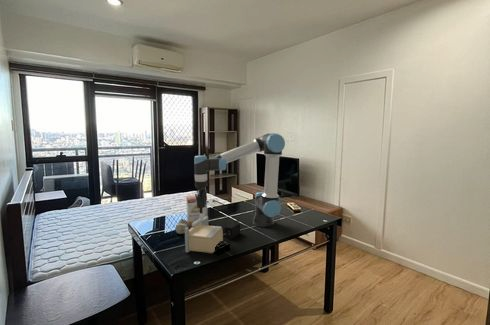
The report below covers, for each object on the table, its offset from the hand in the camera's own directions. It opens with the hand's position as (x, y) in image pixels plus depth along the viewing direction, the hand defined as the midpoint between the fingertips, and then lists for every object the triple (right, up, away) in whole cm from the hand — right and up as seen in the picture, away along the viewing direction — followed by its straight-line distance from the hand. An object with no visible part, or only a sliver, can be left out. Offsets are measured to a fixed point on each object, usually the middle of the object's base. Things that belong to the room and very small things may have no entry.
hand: (202, 217), depth 160 cm
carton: (+5, -14, -7) cm, 16 cm away
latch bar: (-2, -2, -6) cm, 7 cm away
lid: (+4, -6, -12) cm, 14 cm away
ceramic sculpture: (-15, -12, +12) cm, 23 cm away
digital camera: (+19, -12, +4) cm, 23 cm away
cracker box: (-8, -10, +25) cm, 28 cm away
